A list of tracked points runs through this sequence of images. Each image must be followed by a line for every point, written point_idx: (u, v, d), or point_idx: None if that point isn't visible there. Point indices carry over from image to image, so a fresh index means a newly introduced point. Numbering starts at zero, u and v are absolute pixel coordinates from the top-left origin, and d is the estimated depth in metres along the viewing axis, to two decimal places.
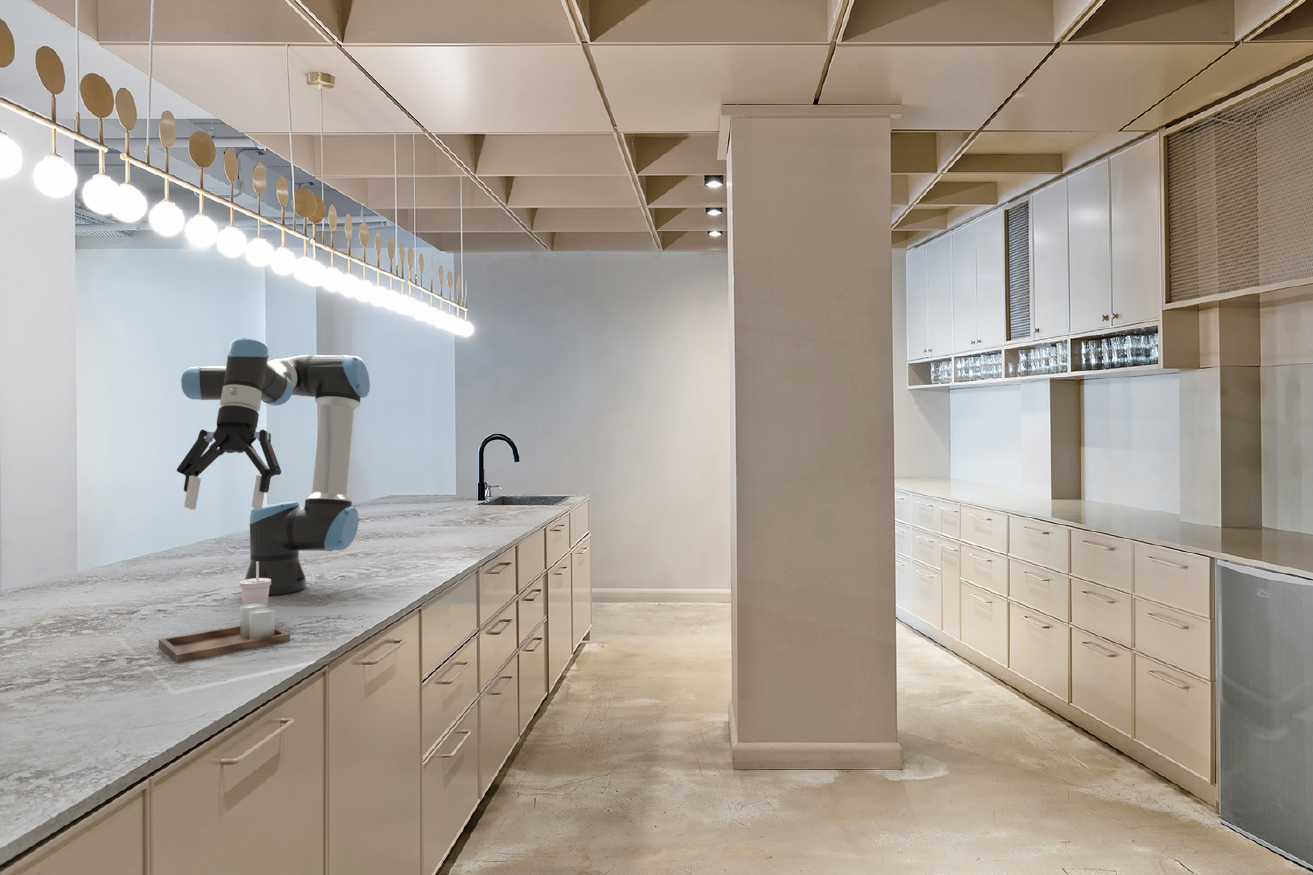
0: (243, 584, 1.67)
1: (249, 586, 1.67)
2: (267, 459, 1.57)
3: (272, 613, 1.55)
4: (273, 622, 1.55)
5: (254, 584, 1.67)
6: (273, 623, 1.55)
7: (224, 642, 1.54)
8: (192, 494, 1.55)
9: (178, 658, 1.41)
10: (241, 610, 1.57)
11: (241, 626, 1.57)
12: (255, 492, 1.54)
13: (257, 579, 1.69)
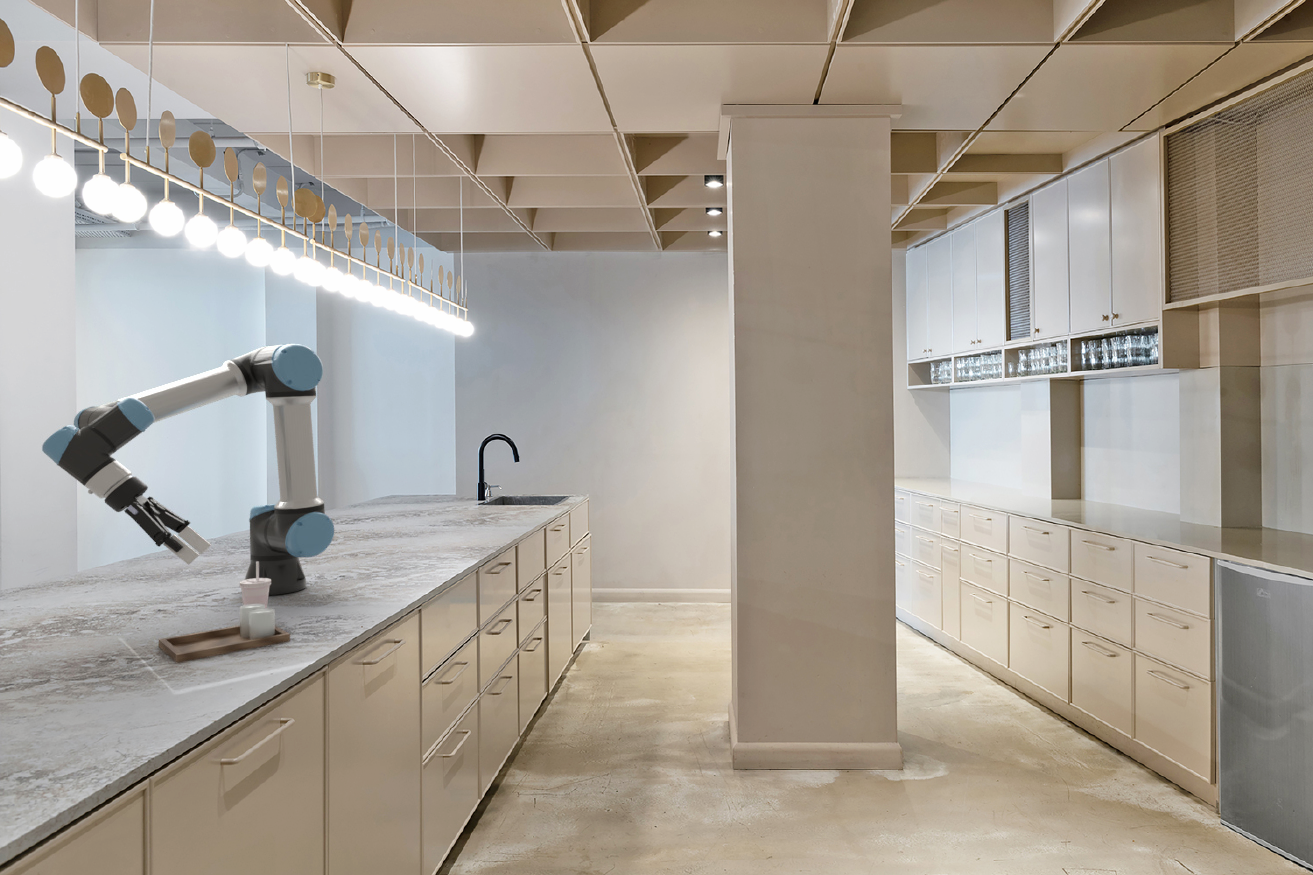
0: (243, 584, 1.67)
1: (249, 586, 1.67)
2: None
3: (272, 613, 1.55)
4: (273, 622, 1.55)
5: (254, 584, 1.67)
6: (273, 623, 1.55)
7: (224, 642, 1.54)
8: (195, 543, 1.71)
9: (178, 658, 1.41)
10: (241, 610, 1.57)
11: (241, 626, 1.57)
12: None
13: (257, 579, 1.69)
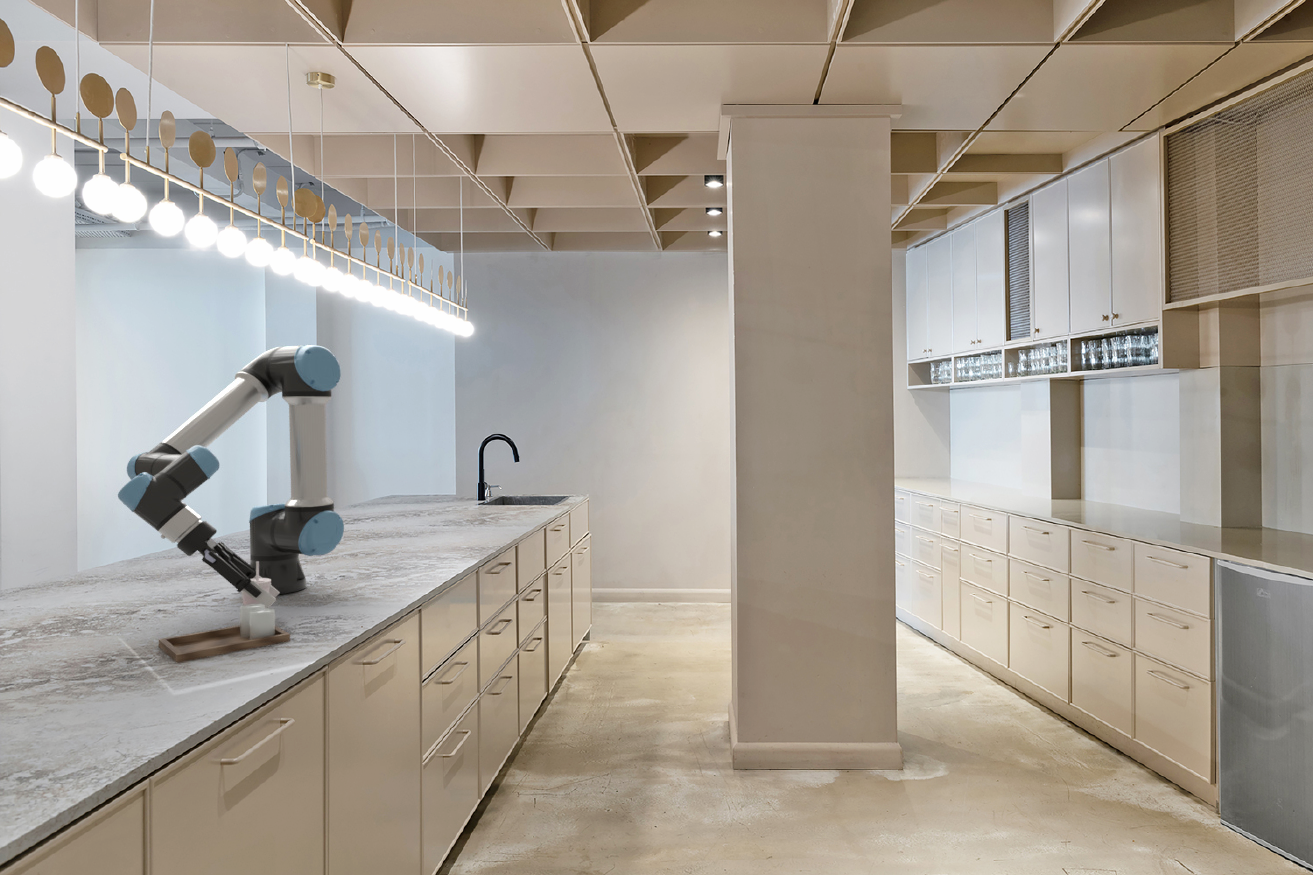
0: None
1: None
2: None
3: (273, 613, 1.55)
4: (274, 622, 1.55)
5: None
6: (274, 623, 1.55)
7: (224, 642, 1.54)
8: None
9: (178, 658, 1.41)
10: (241, 610, 1.57)
11: (241, 626, 1.57)
12: None
13: (257, 579, 1.69)
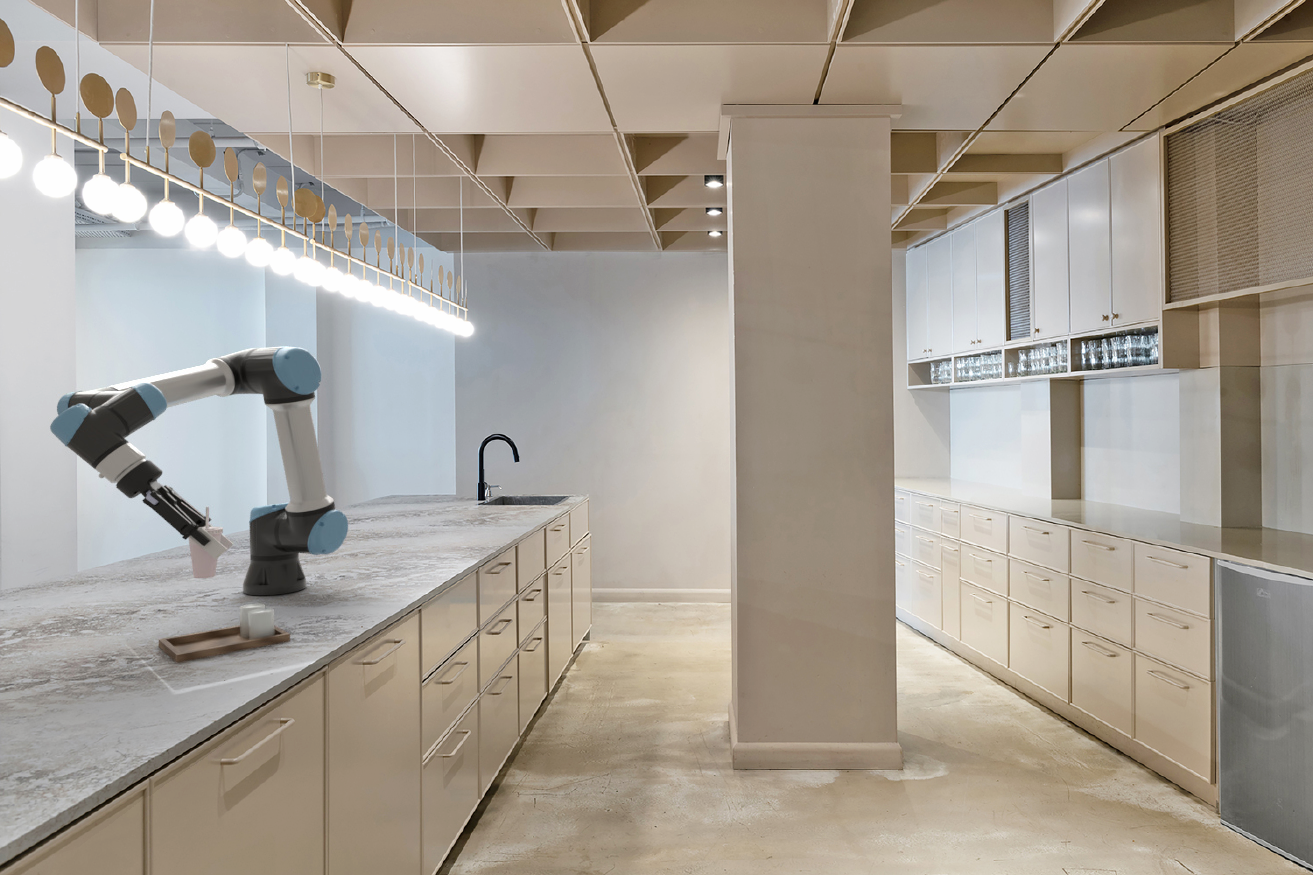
0: None
1: None
2: None
3: (272, 612, 1.55)
4: (273, 621, 1.55)
5: None
6: (273, 622, 1.55)
7: (224, 642, 1.54)
8: None
9: (178, 658, 1.41)
10: (241, 610, 1.57)
11: (241, 626, 1.57)
12: None
13: (207, 527, 1.53)
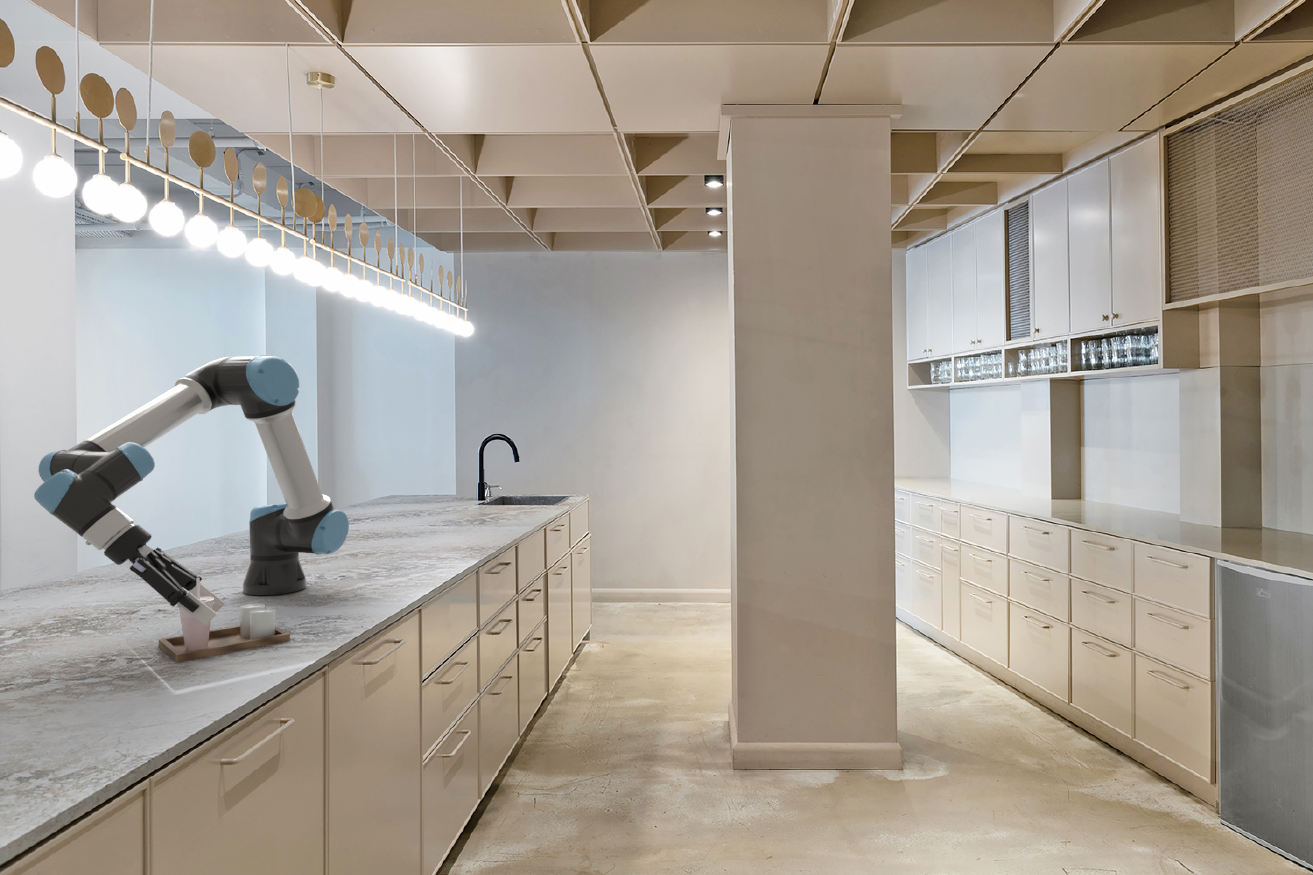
0: None
1: None
2: None
3: (274, 612, 1.55)
4: (274, 621, 1.56)
5: None
6: (274, 622, 1.56)
7: (224, 642, 1.54)
8: None
9: (178, 658, 1.41)
10: (241, 610, 1.57)
11: (241, 626, 1.57)
12: None
13: (198, 598, 1.49)
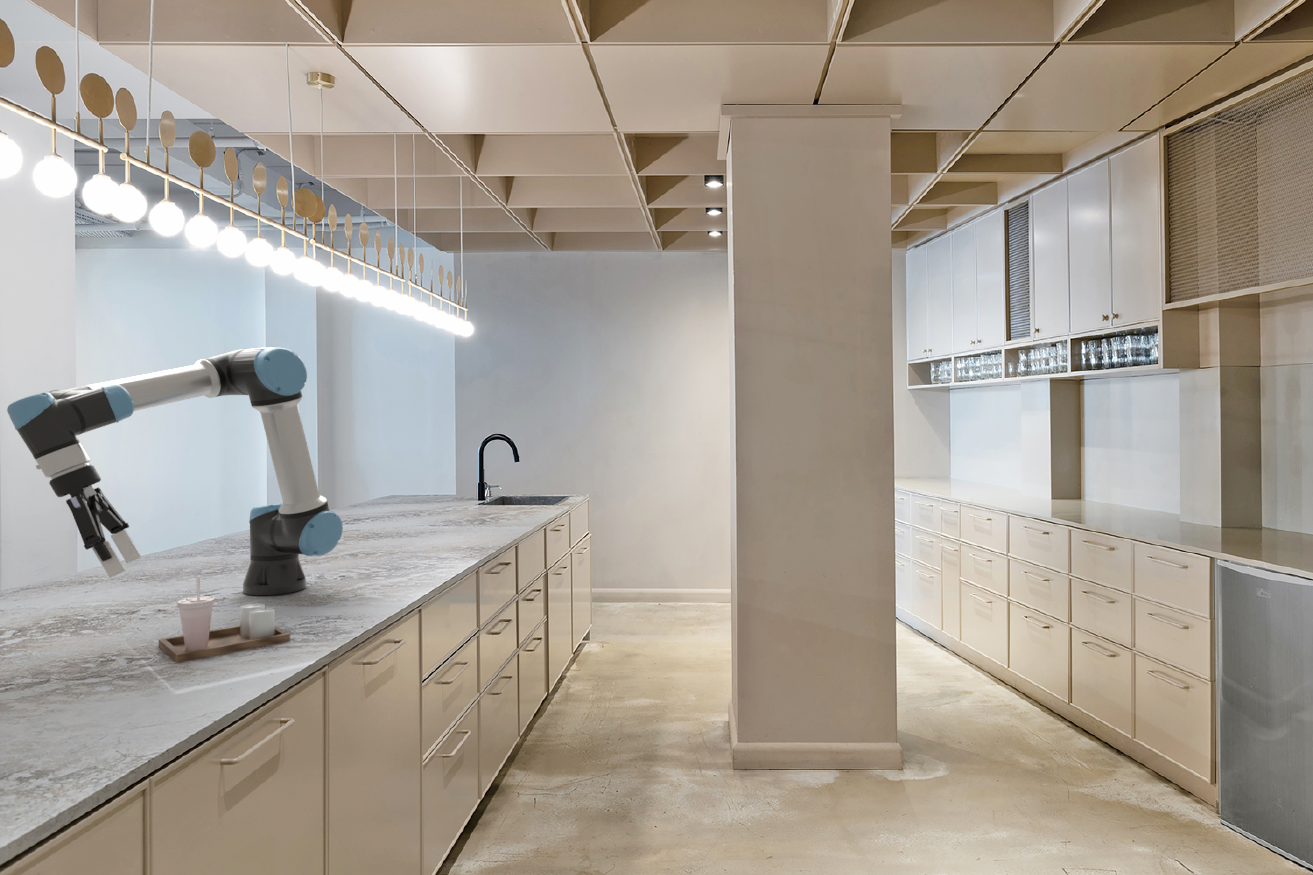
0: (181, 604, 1.46)
1: (188, 606, 1.46)
2: None
3: (273, 611, 1.55)
4: (274, 621, 1.56)
5: (193, 604, 1.46)
6: (274, 622, 1.56)
7: (224, 642, 1.54)
8: (125, 549, 1.57)
9: (178, 658, 1.41)
10: (241, 610, 1.57)
11: (241, 626, 1.57)
12: None
13: (198, 598, 1.49)
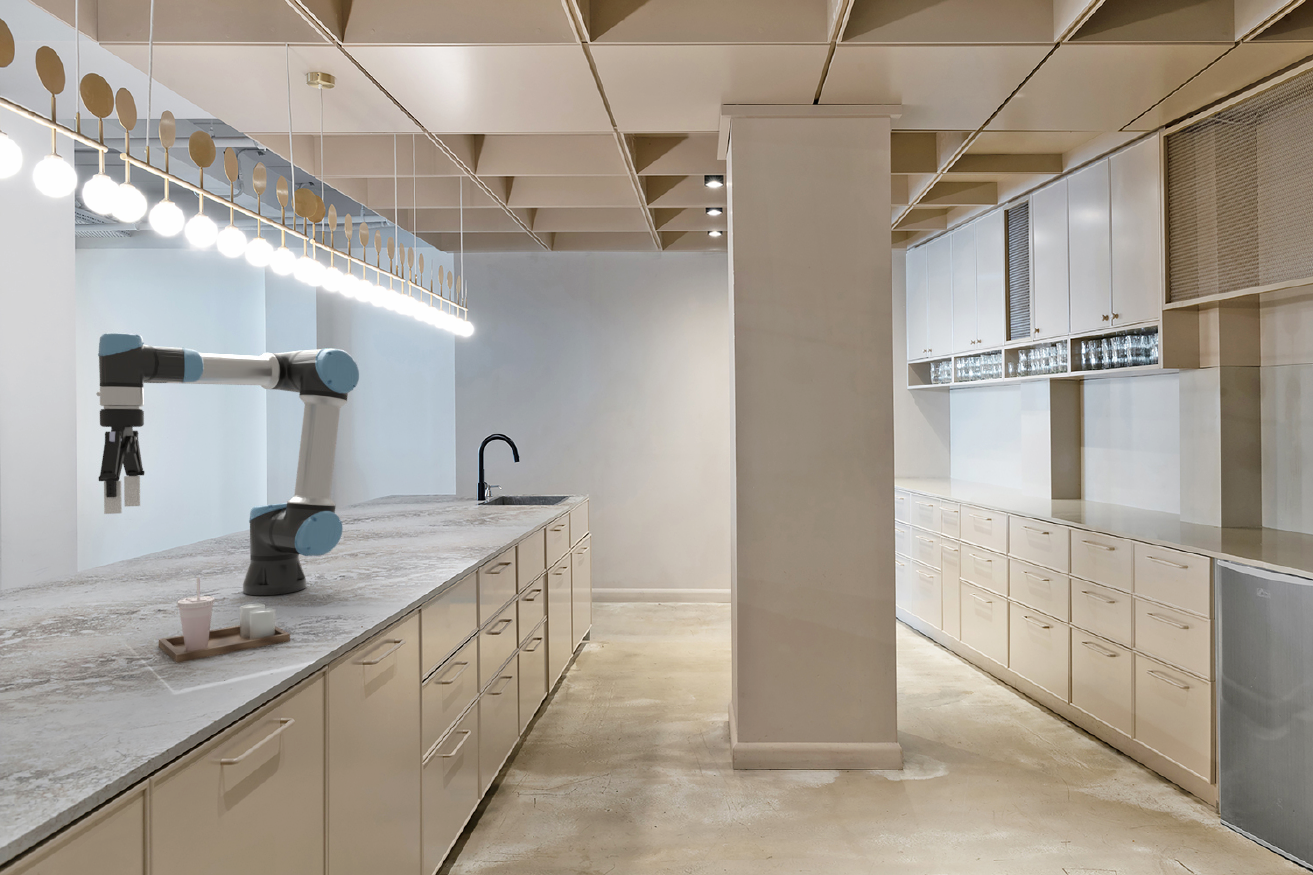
0: (181, 604, 1.46)
1: (188, 606, 1.46)
2: None
3: None
4: (274, 621, 1.56)
5: (193, 604, 1.46)
6: (274, 622, 1.56)
7: (224, 642, 1.54)
8: (129, 493, 1.65)
9: (178, 658, 1.41)
10: (241, 610, 1.57)
11: (241, 626, 1.57)
12: None
13: (198, 598, 1.49)
